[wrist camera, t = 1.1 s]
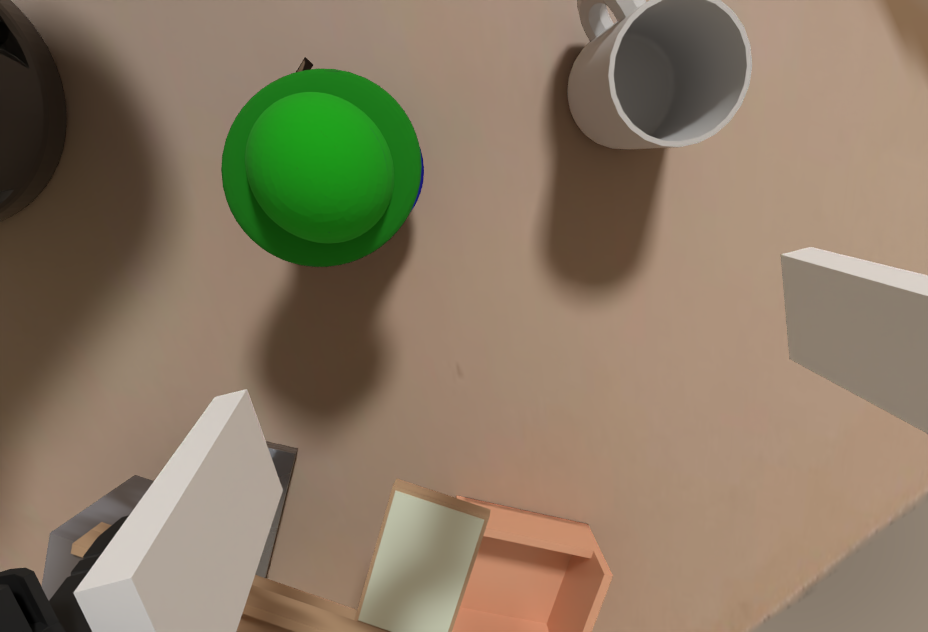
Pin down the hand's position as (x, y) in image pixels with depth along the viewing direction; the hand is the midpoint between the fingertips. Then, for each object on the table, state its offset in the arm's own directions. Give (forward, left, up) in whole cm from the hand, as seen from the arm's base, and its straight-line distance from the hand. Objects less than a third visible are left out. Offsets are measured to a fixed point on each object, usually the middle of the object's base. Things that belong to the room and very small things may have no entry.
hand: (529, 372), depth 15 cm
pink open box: (+10, -22, -26) cm, 36 cm away
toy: (-8, +3, -27) cm, 28 cm away
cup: (+6, +13, -27) cm, 30 cm away
